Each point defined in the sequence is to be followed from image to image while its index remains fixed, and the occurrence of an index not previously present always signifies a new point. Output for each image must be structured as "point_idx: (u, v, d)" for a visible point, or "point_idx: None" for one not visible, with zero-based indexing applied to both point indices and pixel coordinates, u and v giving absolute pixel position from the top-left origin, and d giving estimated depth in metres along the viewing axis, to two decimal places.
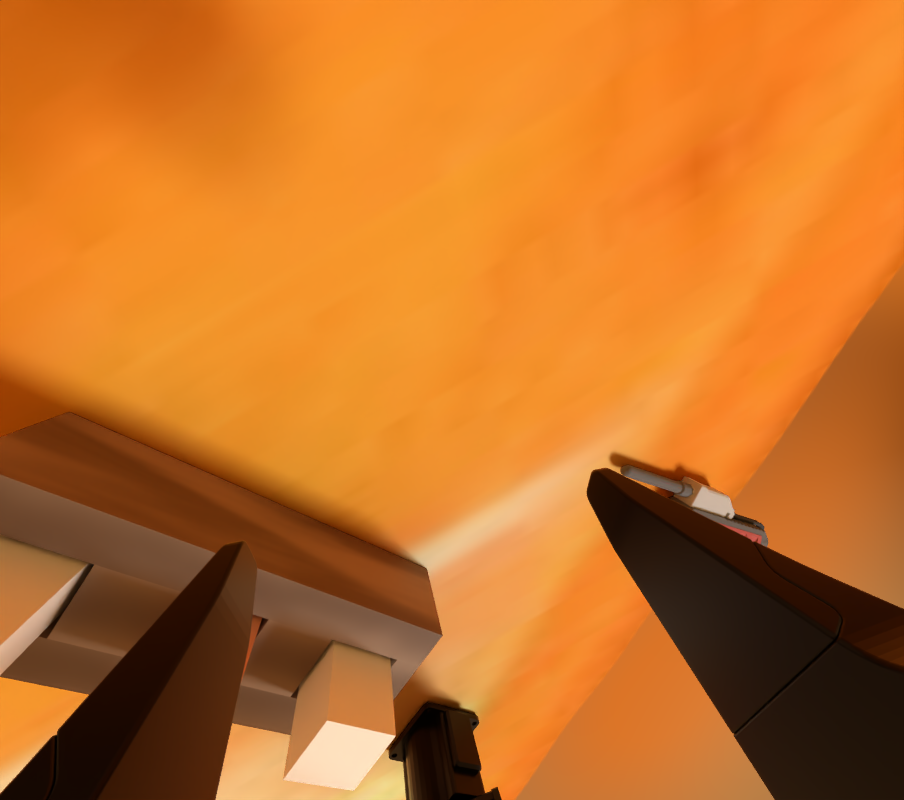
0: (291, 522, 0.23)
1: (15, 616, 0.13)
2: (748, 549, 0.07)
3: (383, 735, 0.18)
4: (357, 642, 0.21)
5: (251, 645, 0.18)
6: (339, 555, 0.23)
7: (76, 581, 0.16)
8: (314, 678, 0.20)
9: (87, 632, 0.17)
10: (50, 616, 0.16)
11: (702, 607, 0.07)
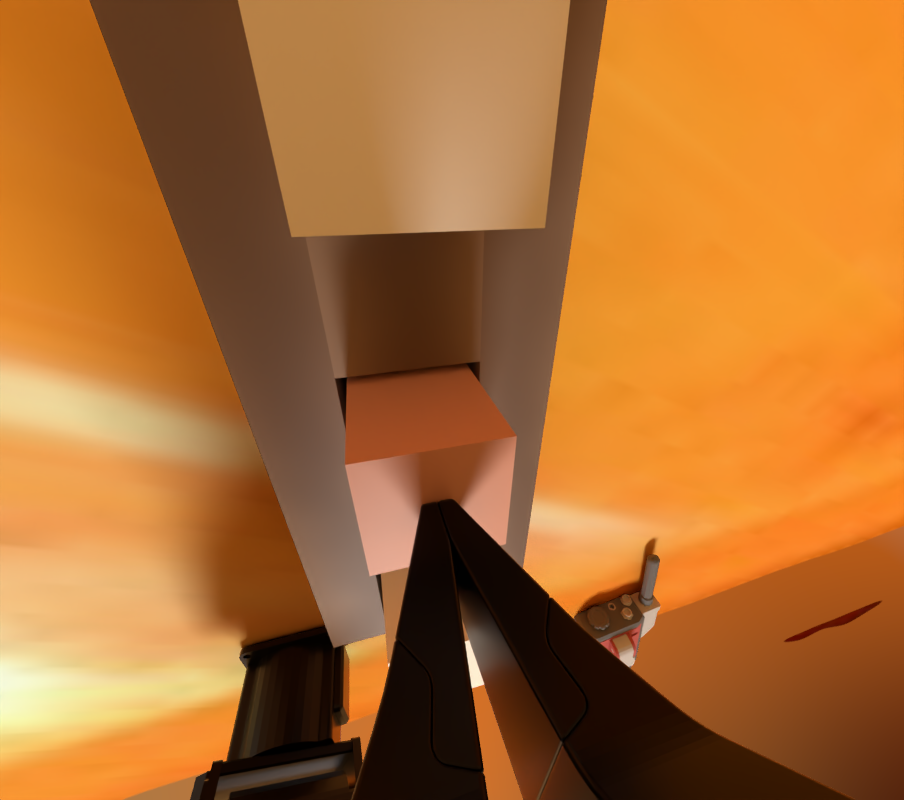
0: None
1: None
2: (537, 609, 0.06)
3: None
4: None
5: None
6: None
7: None
8: None
9: (351, 289, 0.09)
10: None
11: (497, 672, 0.06)
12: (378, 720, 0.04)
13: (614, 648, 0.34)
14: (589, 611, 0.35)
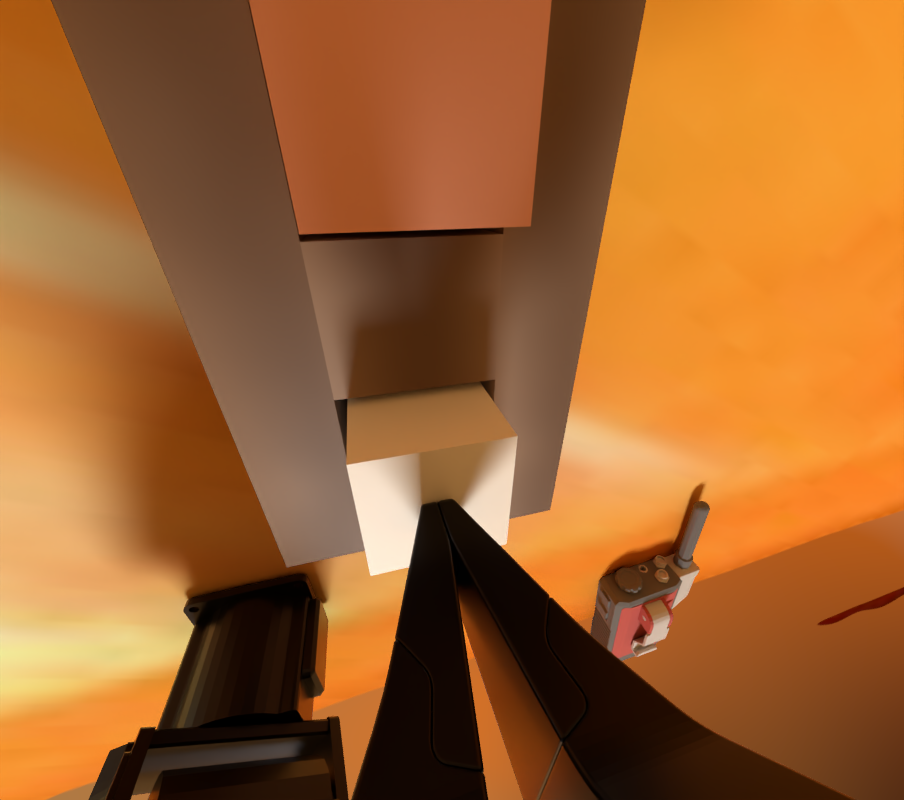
0: None
1: None
2: (537, 609, 0.06)
3: (502, 530, 0.10)
4: None
5: None
6: None
7: None
8: None
9: None
10: None
11: (497, 672, 0.06)
12: (378, 720, 0.04)
13: (647, 615, 0.28)
14: (618, 572, 0.30)
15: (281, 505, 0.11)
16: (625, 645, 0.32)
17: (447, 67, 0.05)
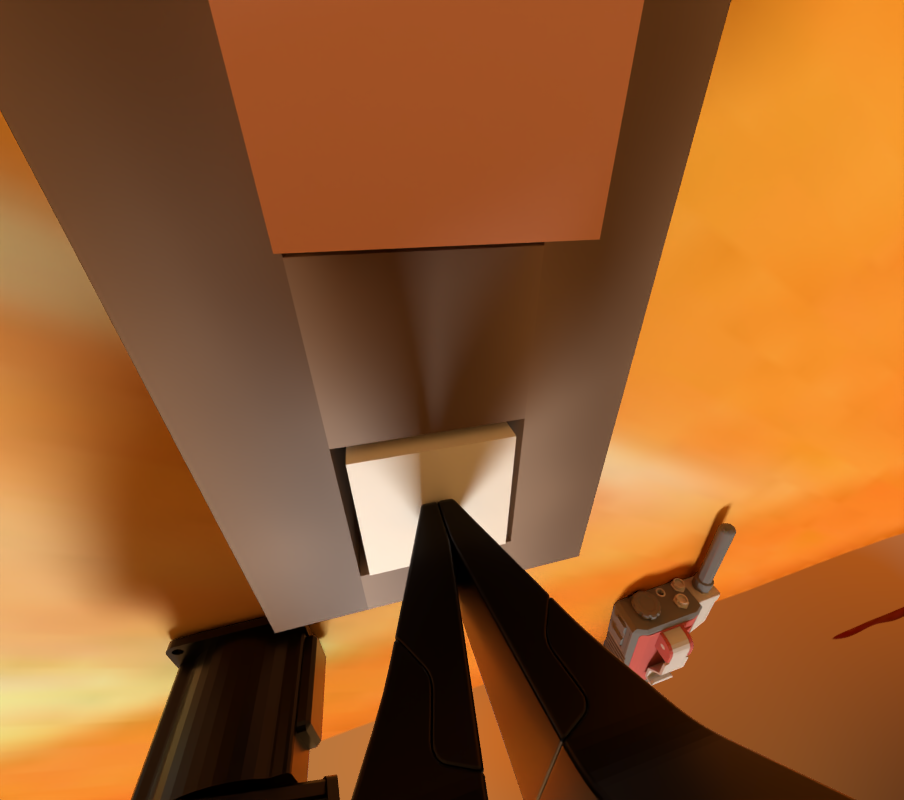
0: None
1: None
2: (537, 609, 0.06)
3: (501, 529, 0.10)
4: (530, 463, 0.09)
5: None
6: None
7: None
8: None
9: None
10: None
11: (497, 672, 0.06)
12: (378, 720, 0.04)
13: (666, 643, 0.27)
14: (634, 596, 0.28)
15: (266, 568, 0.09)
16: (639, 672, 0.31)
17: None
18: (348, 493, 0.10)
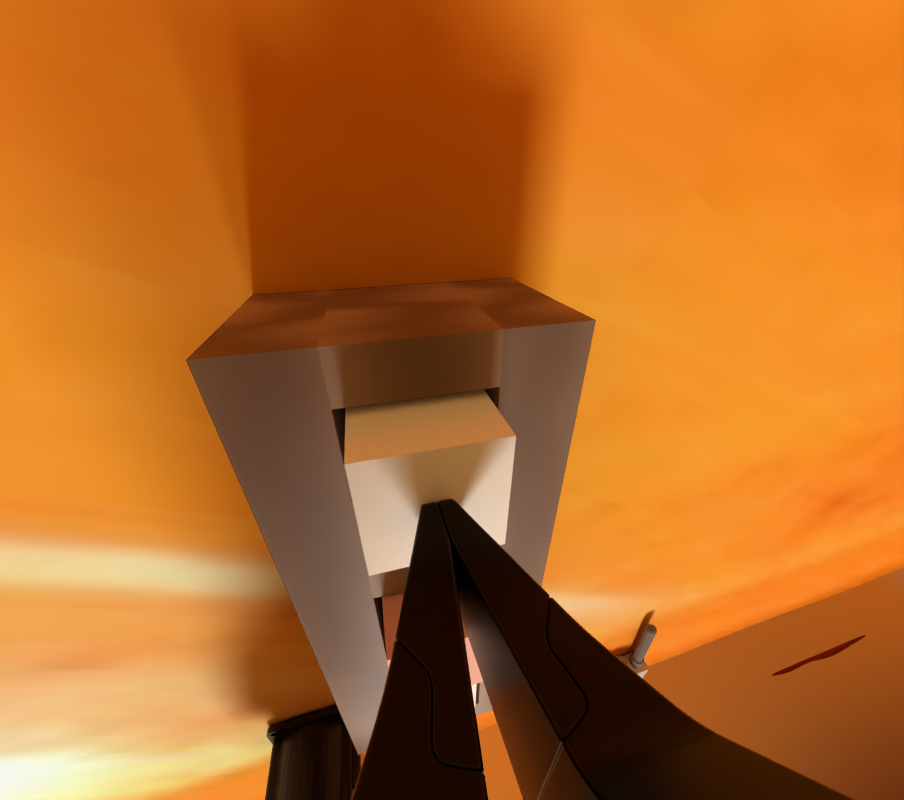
0: None
1: None
2: (537, 609, 0.06)
3: None
4: None
5: None
6: None
7: None
8: None
9: None
10: None
11: (497, 672, 0.06)
12: (378, 720, 0.04)
13: None
14: None
15: (360, 733, 0.19)
16: None
17: None
18: None
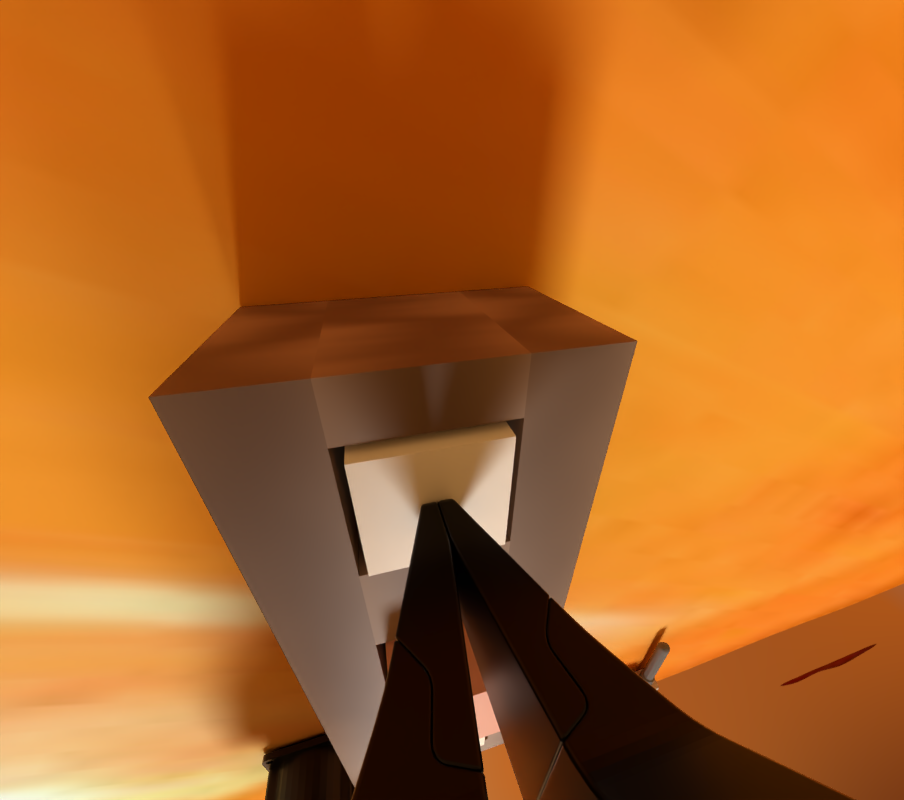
0: None
1: None
2: (537, 609, 0.06)
3: (481, 741, 0.19)
4: None
5: None
6: None
7: None
8: None
9: (395, 595, 0.11)
10: None
11: (497, 672, 0.06)
12: (378, 720, 0.04)
13: None
14: None
15: None
16: None
17: None
18: None
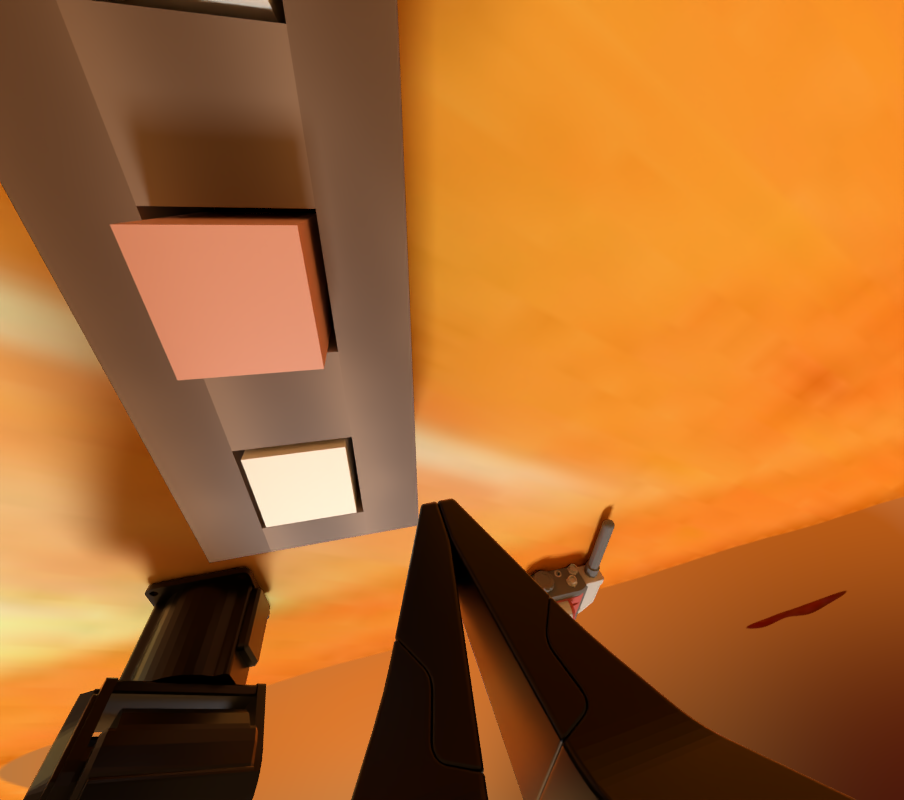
0: None
1: None
2: (537, 609, 0.06)
3: (351, 503, 0.16)
4: (363, 462, 0.16)
5: (328, 337, 0.13)
6: None
7: None
8: None
9: (132, 83, 0.08)
10: None
11: (497, 672, 0.06)
12: (378, 720, 0.04)
13: None
14: (536, 574, 0.35)
15: (200, 519, 0.15)
16: None
17: (251, 304, 0.09)
18: None
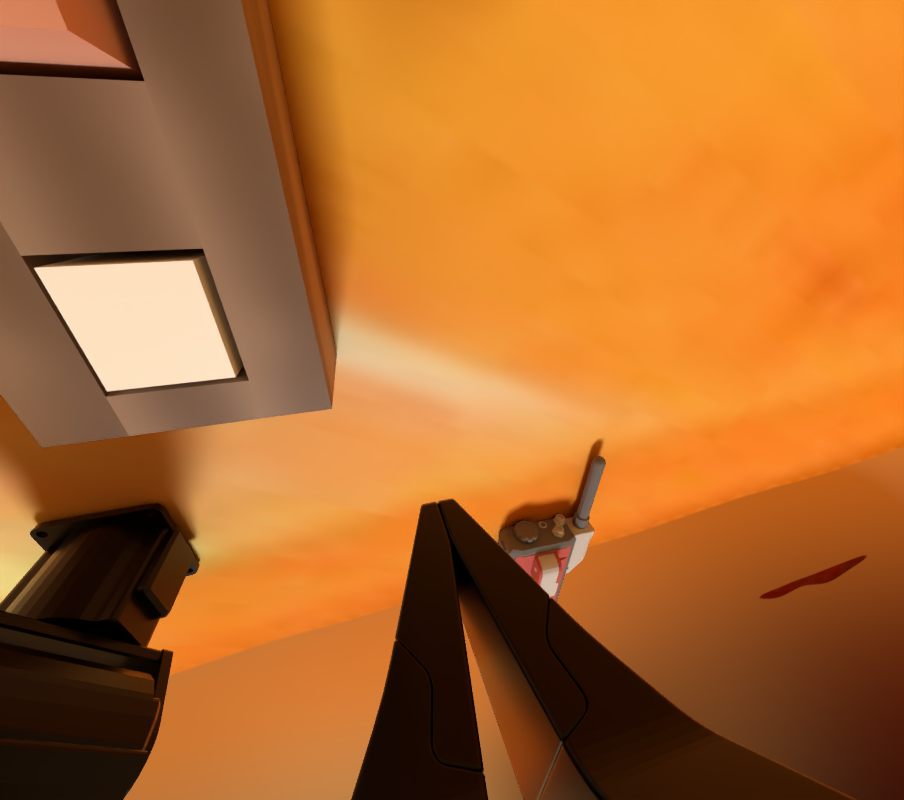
0: (278, 78, 0.13)
1: None
2: (537, 609, 0.06)
3: (224, 361, 0.12)
4: (230, 296, 0.12)
5: (134, 67, 0.09)
6: (298, 194, 0.13)
7: None
8: None
9: None
10: None
11: (497, 672, 0.06)
12: (378, 720, 0.04)
13: (538, 565, 0.29)
14: (517, 523, 0.30)
15: (6, 373, 0.11)
16: None
17: None
18: None
